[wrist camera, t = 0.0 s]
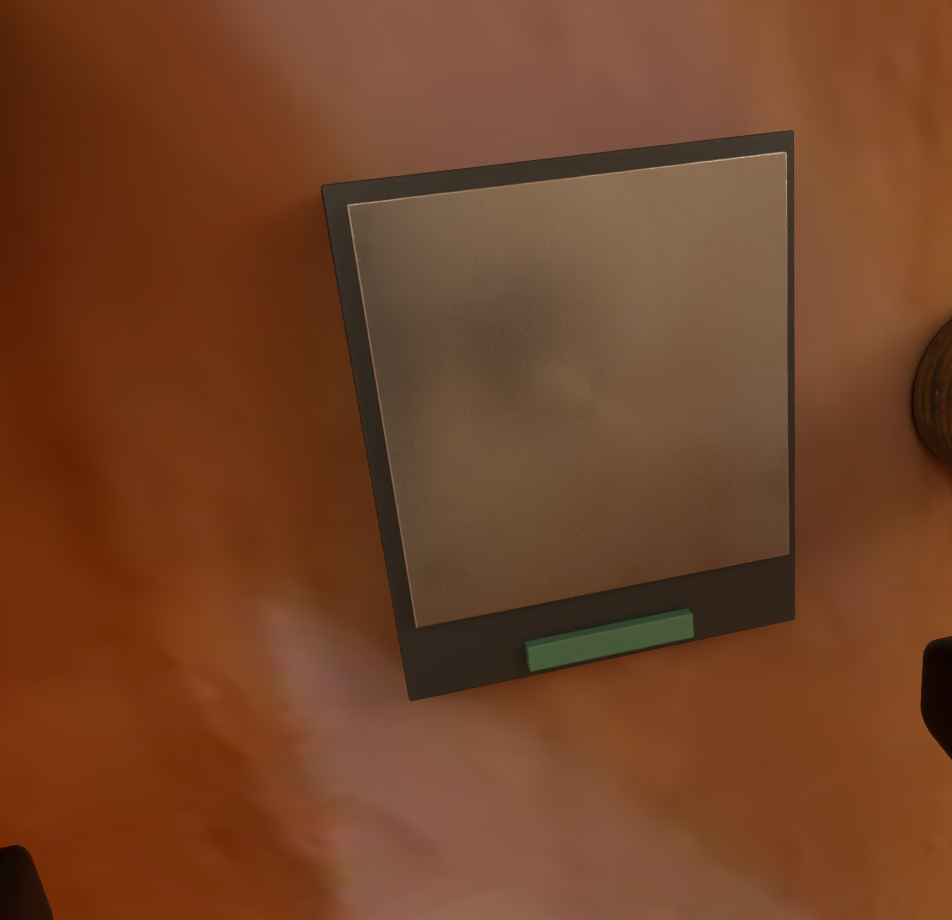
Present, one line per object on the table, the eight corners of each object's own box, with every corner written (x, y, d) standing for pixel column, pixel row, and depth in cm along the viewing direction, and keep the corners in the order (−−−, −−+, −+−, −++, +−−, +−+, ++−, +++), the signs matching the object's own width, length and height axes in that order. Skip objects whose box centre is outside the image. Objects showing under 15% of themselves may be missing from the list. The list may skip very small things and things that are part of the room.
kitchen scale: (761, 592, 25) (805, 627, 22) (403, 665, 23) (411, 712, 21) (753, 141, 21) (806, 126, 18) (321, 191, 19) (319, 182, 17)
